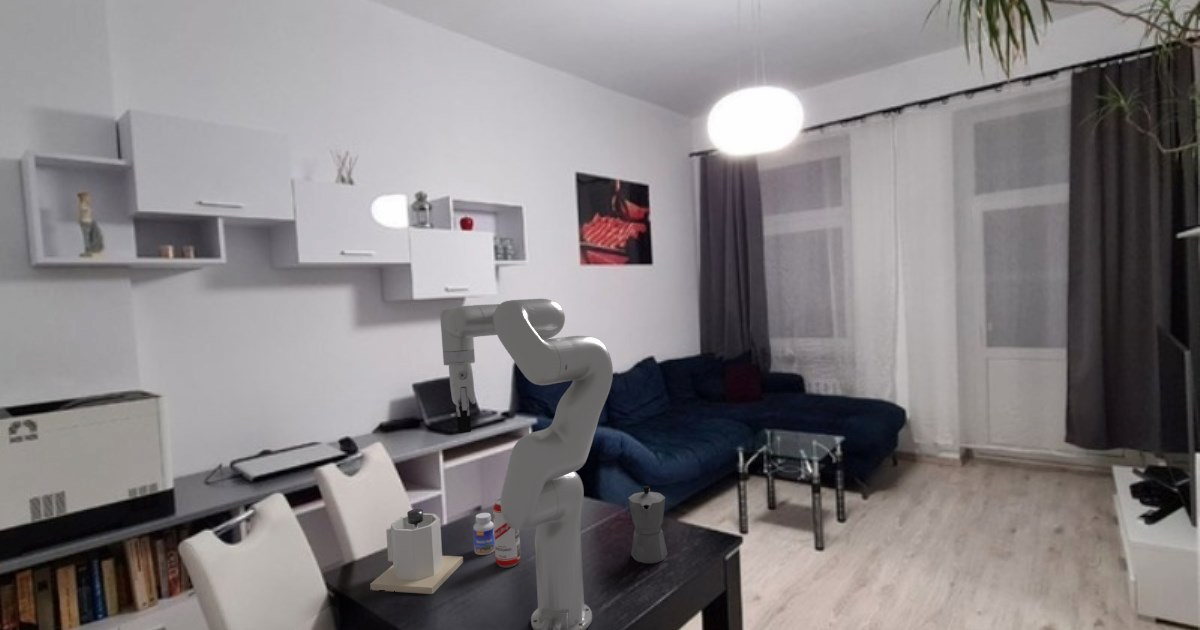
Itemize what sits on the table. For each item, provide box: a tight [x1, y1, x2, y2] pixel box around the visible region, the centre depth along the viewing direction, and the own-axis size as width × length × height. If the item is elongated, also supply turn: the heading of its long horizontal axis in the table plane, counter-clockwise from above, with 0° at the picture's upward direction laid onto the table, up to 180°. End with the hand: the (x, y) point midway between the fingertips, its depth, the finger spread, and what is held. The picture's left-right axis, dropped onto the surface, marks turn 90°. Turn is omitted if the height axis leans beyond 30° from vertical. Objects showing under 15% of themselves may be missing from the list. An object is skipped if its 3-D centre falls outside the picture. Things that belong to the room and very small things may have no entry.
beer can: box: [492, 498, 522, 568], centre depth 148 cm, size 6×6×16 cm
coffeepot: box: [627, 485, 668, 564], centre depth 149 cm, size 15×9×18 cm, turn 174°
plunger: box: [406, 508, 424, 529], centre depth 143 cm, size 8×8×14 cm
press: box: [369, 512, 464, 595], centre depth 143 cm, size 16×16×14 cm
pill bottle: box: [473, 512, 495, 556], centre depth 156 cm, size 5×5×10 cm
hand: (464, 431), depth 143 cm, fingers closed
